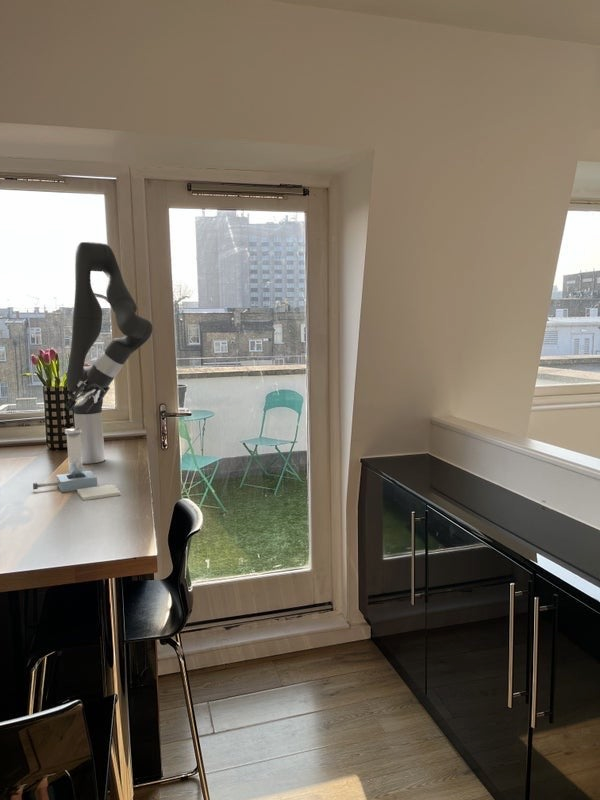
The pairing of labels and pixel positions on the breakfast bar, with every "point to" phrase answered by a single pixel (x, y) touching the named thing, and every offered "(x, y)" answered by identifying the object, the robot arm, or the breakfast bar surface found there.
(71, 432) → the steel pin
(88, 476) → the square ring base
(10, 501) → the breakfast bar surface
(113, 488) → the felt pad
